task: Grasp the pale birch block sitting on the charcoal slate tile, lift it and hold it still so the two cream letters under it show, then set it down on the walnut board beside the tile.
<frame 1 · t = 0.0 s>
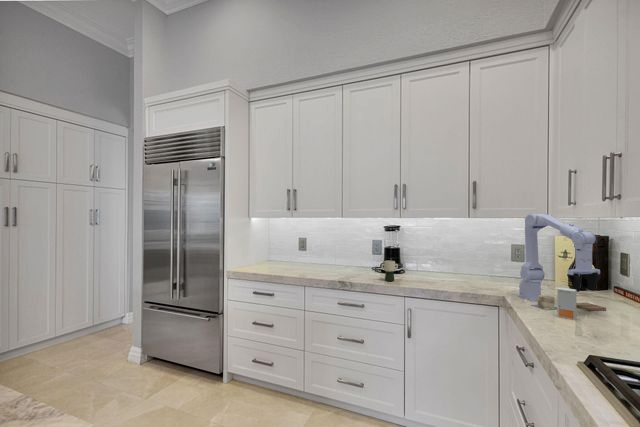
hand: (584, 290, 145), 10 cm above the worktop, tool pointing down, fingers open, 7 cm apart
birch block: (546, 307, 155), resting on slate code tile
skincare box: (566, 318, 140), on the worktop
walnut board: (588, 308, 154), on the worktop
slate code tile: (546, 307, 155), on the worktop
character mug: (389, 281, 221), on the worktop
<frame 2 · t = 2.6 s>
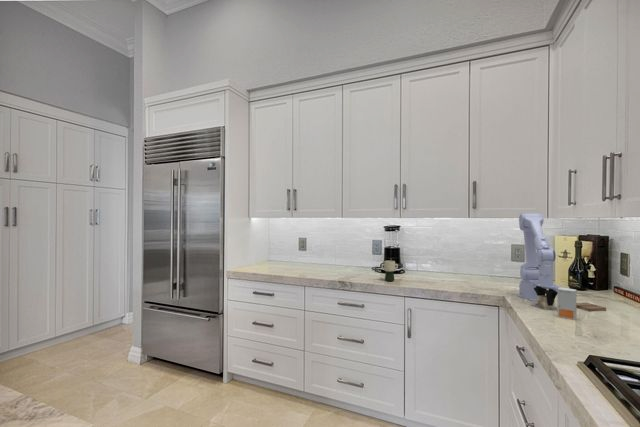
hand: (546, 304, 155), 2 cm above the worktop, tool pointing down, fingers closed on birch block, 4 cm apart
birch block: (546, 307, 155), resting on slate code tile, touching gripper
everything else where it was.
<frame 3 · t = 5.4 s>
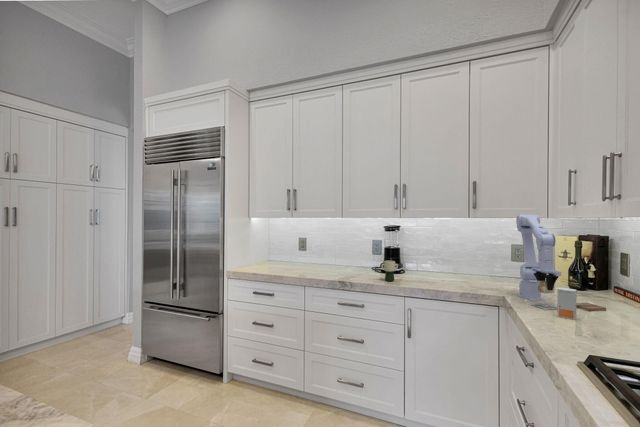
hand: (545, 289, 156), 9 cm above the worktop, tool pointing down, fingers closed on birch block, 4 cm apart
birch block: (545, 292, 156), point 7 cm above the worktop, touching gripper
everything else where it was.
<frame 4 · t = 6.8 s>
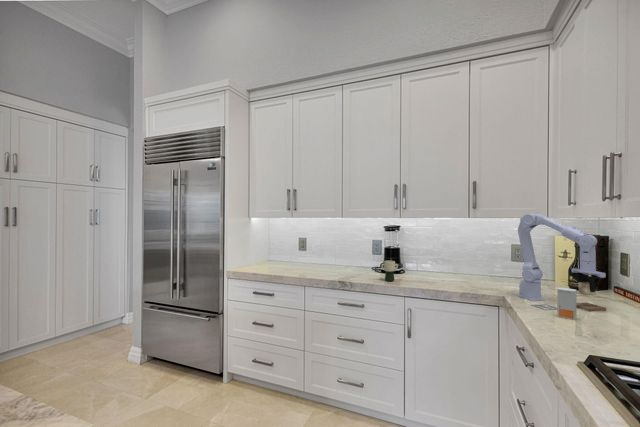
hand: (588, 290, 154), 8 cm above the worktop, tool pointing down, fingers closed on birch block, 4 cm apart
birch block: (587, 293, 154), point 7 cm above the worktop, touching gripper
everything else where it was.
when the fingers open (4 cm above the worktop, at t = 8.2 s): birch block drops 1 cm, resting on walnut board.
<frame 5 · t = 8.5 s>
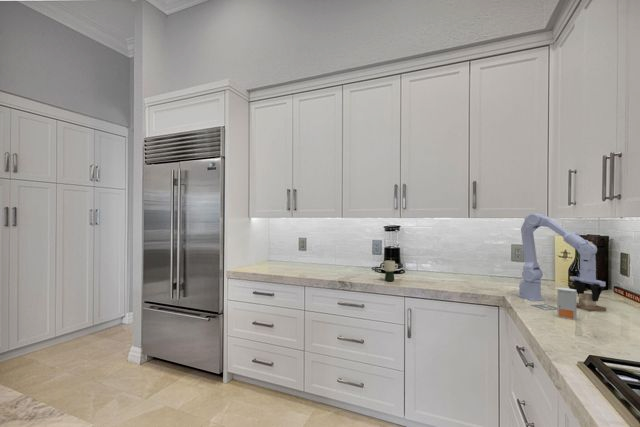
hand: (588, 299, 154), 4 cm above the worktop, tool pointing down, fingers open, 6 cm apart
birch block: (587, 305, 154), point 1 cm above the worktop, touching walnut board
everything else where it was.
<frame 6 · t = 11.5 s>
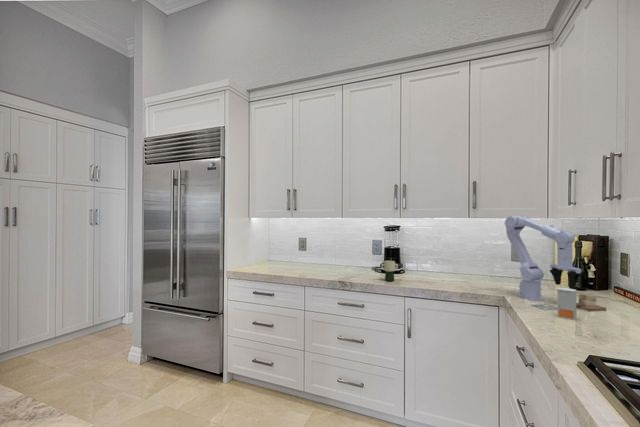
hand: (565, 286, 159), 9 cm above the worktop, tool pointing down, fingers open, 7 cm apart
nothing on the worktop moved.
at the end: birch block 0.4 cm off-centre on the walnut board, point 1.5 cm above the walnut board's base; birch block tilted 0°; the gripper is holding nothing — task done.
